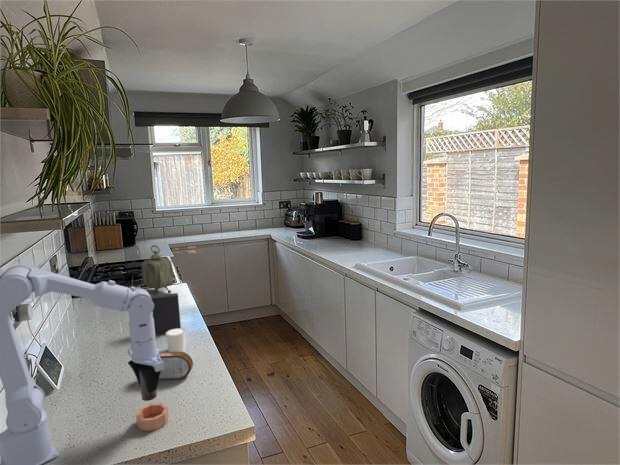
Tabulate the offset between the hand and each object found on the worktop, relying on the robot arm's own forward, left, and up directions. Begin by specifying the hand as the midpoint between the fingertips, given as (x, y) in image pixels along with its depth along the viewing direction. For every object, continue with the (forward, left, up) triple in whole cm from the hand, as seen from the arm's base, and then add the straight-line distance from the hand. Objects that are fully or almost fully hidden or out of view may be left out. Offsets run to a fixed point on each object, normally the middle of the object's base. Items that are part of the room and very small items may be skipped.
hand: (148, 388), depth 103 cm
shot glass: (+26, +32, -10) cm, 42 cm away
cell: (0, 0, -2) cm, 2 cm away
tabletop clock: (+55, +98, -10) cm, 113 cm away
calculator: (+32, +50, -10) cm, 60 cm away
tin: (+14, +17, -10) cm, 24 cm away
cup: (0, 0, -10) cm, 10 cm away
